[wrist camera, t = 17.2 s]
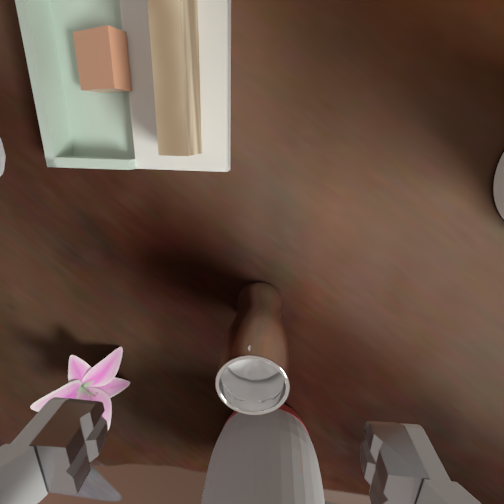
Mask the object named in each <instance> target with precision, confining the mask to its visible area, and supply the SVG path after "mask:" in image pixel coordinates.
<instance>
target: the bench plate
mask: <svg viewBox="0 0 504 504" xmlns="http://www.w3.org/2000/svg"><path fill="white" fill-rule="evenodd" d="M120 9H121V19H122V30H123V31H125V32H126V36H127V47H128V58H129V69H130V80H131V90H132V91H129V101H130V111H131V121H132V132H133V142H134V152H135V162H136V169H161V170H189V171H217V172H228V171H229V170H230V139H231V0H198V29H199V66H200V103H201V140H202V154H196V155H191V156H164V155H159V153H158V139H157V126H156V112H155V98H154V84H153V71H152V57H151V43H150V30H149V16H148V2H147V0H120Z"/></svg>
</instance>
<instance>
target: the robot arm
mask: <svg viewBox="0 0 504 504" xmlns="http://www.w3.org/2000/svg"><path fill="white" fill-rule="evenodd" d="M493 193H494V200H495V204H496V207H497V209H498V211H499V213H500V215H501V216H502V218H503V219H504V152H503V154H502V156H501V158H500V161H499V163H498V166H497V169H496V172H495V177H494V184H493ZM104 411H105V409H104V405H103V402H100V401H91V400H81V399H72V398H59V397H54V398H52V399H50V400H49V401H48V402H47V403H46V404H45V405H44V406H43V407H42V408H41V410H40V411H39V412H38V413H37V414H36V415H35V416H34V418H33V419H32V420H31V421H30V422H29V423H28V424H27V426H26V427H25V428H24V429H23V430H22V431H21V433H20V434H19V435H18V436H17V437H16V438H15V439H14V441H13V442H12V443H11V444H4V445H3V446H1V447H0V504H37V503H38V502H40V501H41V500H42V499H43V498H44V497H45V496H46V495H47V494H48V493H47V492H51V493H68V494H78V492H79V490H80V488H81V486H82V485H83V483H84V481H85V479H86V477H87V476H88V474H89V472H90V470H91V469H90V462H91V461H92V460H93V459H95V458H96V457H97V456H99V454H100V452H101V450H102V448H103V447H104V444H105V441H106V437H107V431H108V426H107V421H106V420H105V419H104V418H103V417H102V414H103V413H104ZM364 432H365V435H366V438H365V439H364V440H363V441H362V443H361V449H360V456H361V466H362V471H363V474H364V478H365V479H366V480H367V481H368V482H369V484H370V485H371V487H370V492H369V497H370V501H371V504H481V503H480V502H479V501H478V500H477V499H475V498H474V497H473V496H472V495H471V494H470V493H469V492H467V491H466V490H465V489H464V488H463V487H462V486H461V485H460V484H458V483H457V482H452V481H451V480H450V478H449V477H448V475H447V473H446V471H445V469H444V467H443V465H442V463H441V461H440V460H439V458H438V456H437V454H436V452H435V450H434V448H433V446H432V444H431V442H430V441H429V439H428V437H427V435H426V433H425V431H424V429H423V428H422V427H421V426H420V425H416V424H400V423H389V422H373V421H367V422H366V424H365V428H364Z"/></svg>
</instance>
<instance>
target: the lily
mask: <svg viewBox="0 0 504 504" xmlns="http://www.w3.org/2000/svg"><path fill="white" fill-rule="evenodd" d="M122 354H123V349H122V347H119V348H117V349H116V350H114V351H113V352H112V353H111V354H109V355H108V356H107V357H105V358H104V359H103V360H102V361H100V362H99V363H98V364H96V365H95V366H94V367H92V368H91V366H90V365H89V364H87V363H86V362H85V361H83V360H82V359H80V358H79V357H77V356H75V355H70V357H69V365H68V384H66V385H64V386H62V387H61V388H59V389H57V390H55V391H53V392H52V393H50V394H48V395H46V396H44V397H43V398H41V399H39V400H37V401H36V402H34V403H33V404H32V405H31V406H30V408H31V409H32V410H34V411H37V412H39V411H40V410H41V408H42V407H43V406H44V405H45V404H46V403H47V402H48V401H49V400H50V399H52V398H54V397H59V398H72V399H81V400H91V401H100V402H103V405H104V409H105V411H104V413H103V414H102V417H103V418H104V419H105V420H106V421H107V426H108V429H109V428H110V424H111V415H112V404H111V399H110V398H111V397H113V396H115V395H117V394H118V393H120V392H121V391H123V390H124V389H126V388H127V387H128V386H129V385H130V382H129V381H127V380H124V379H120V378H116V377H115V376H116V374H117V372H118V369H119V366H120V363H121V359H122Z"/></svg>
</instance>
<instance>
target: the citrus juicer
mask: <svg viewBox="0 0 504 504" xmlns="http://www.w3.org/2000/svg"><path fill="white" fill-rule="evenodd" d="M201 504H325V501H324V494H323V487H322V480H321V475H320V470H319V465H318V460H317V456H316V453H315V450H314V447H313V444H312V442H311V440H310V437H309V434H308V431H307V429H306V427H305V425H304V424H303V422H302V420H301V419H300V417H299V416H298V414H297V413H296V412H295V411H294V410H293V409H291V408H290V407H289V406H287V405H285V404H282V405H281V406H280V407H279V408H278V409H276V410H274V411H272V412H270V413H267V414H262V415H248V414H243V413H240V412H237V411H235V410H234V412H233V413H232V414H231V415H230V417H229V418H228V420H227V421H226V423H225V424H224V426H223V429H222V431H221V433H220V435H219V437H218V440H217V442H216V444H215V447H214V450H213V452H212V455H211V459H210V463H209V467H208V472H207V477H206V482H205V487H204V492H203V496H202V502H201Z"/></svg>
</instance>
